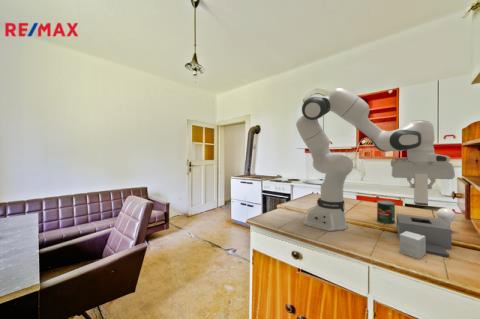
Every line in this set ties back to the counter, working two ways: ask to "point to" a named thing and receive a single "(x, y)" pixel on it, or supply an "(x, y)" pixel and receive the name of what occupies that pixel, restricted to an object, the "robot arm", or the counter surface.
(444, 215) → the lightbulb
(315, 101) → the robot arm
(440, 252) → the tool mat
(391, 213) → the canned tomato
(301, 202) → the counter surface
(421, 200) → the beige rectangular block
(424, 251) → the product box
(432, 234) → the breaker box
